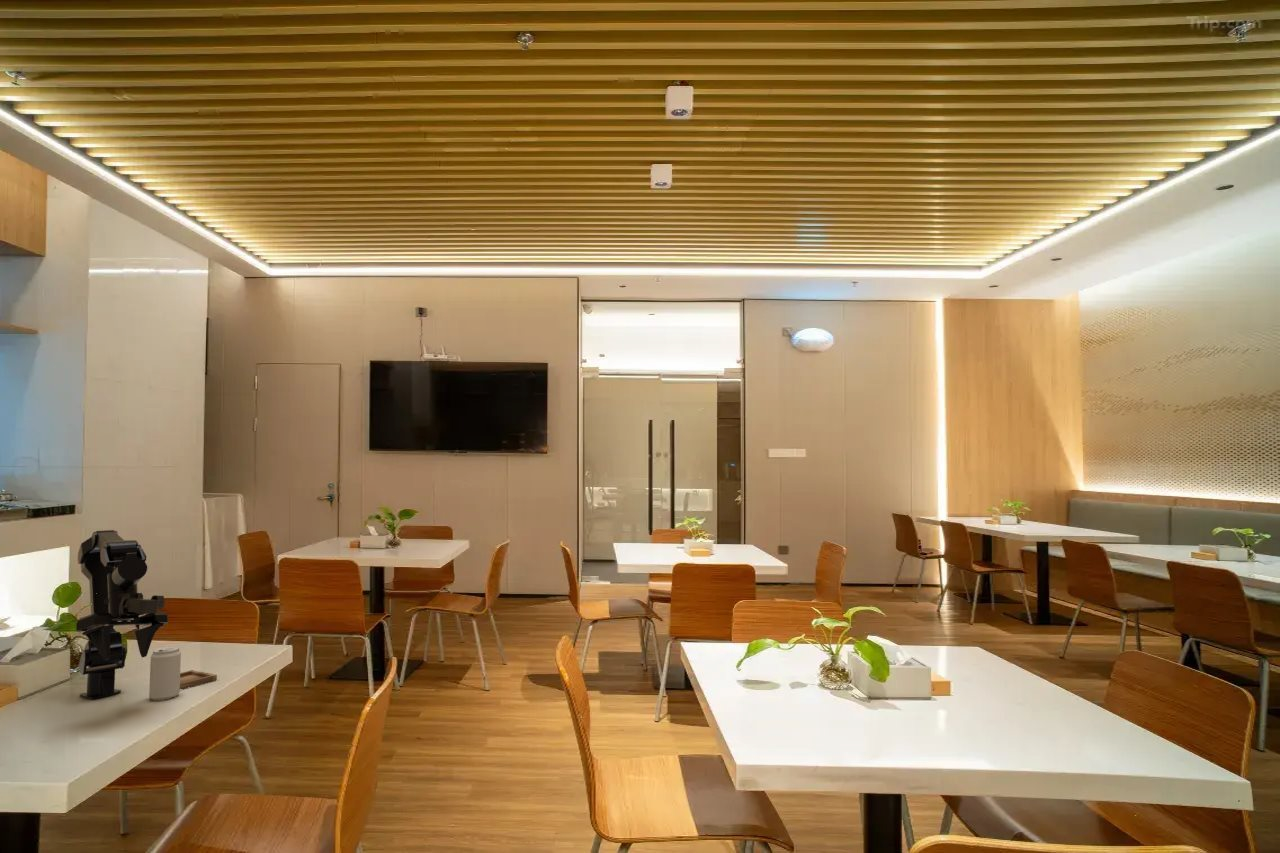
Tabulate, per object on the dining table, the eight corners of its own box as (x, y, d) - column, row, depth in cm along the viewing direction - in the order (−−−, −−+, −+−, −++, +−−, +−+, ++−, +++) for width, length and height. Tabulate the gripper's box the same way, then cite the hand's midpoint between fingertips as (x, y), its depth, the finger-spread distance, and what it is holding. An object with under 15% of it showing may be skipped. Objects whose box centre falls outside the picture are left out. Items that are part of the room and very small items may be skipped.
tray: (150, 686, 189) (150, 680, 189) (192, 675, 199) (192, 670, 199) (174, 691, 184) (175, 685, 184) (216, 680, 194) (216, 674, 194)
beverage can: (142, 700, 177) (144, 651, 178) (165, 692, 184) (167, 645, 184) (163, 702, 176) (165, 652, 177) (185, 694, 182) (187, 646, 183)
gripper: (112, 581, 160) (115, 651, 156) (183, 583, 178) (188, 646, 173) (73, 595, 162) (75, 665, 158) (148, 596, 180) (151, 659, 175)
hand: (126, 658), depth 166 cm, fingers open, 9 cm apart
